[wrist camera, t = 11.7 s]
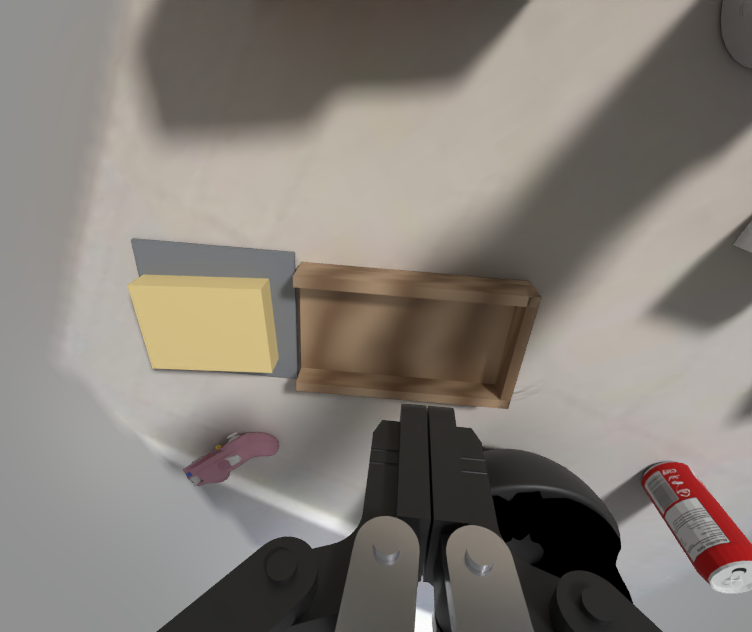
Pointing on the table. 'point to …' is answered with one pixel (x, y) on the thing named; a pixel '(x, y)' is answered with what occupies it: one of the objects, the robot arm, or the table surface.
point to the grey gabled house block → (745, 239)
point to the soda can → (701, 527)
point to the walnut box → (412, 334)
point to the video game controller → (230, 457)
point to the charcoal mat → (237, 264)
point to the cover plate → (206, 322)
